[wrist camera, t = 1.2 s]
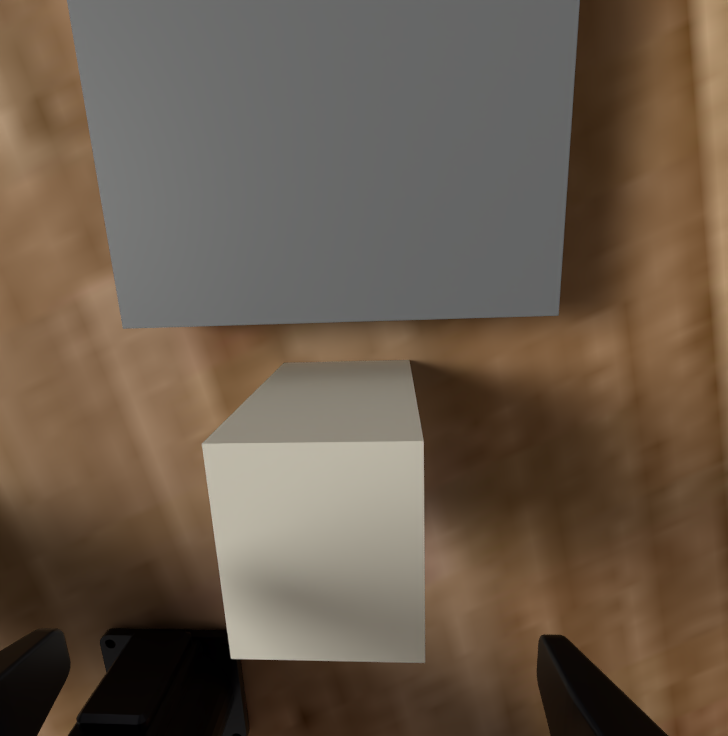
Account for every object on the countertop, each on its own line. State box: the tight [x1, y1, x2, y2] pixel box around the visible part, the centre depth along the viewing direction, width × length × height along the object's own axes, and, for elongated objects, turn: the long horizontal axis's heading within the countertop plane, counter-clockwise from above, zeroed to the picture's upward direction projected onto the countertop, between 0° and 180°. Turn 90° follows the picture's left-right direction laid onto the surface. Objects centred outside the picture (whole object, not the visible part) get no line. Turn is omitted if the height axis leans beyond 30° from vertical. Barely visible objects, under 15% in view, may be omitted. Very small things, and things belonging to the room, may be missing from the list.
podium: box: [67, 0, 580, 329], centre depth 14 cm, size 12×14×3 cm
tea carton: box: [202, 360, 425, 663], centre depth 15 cm, size 6×5×8 cm
